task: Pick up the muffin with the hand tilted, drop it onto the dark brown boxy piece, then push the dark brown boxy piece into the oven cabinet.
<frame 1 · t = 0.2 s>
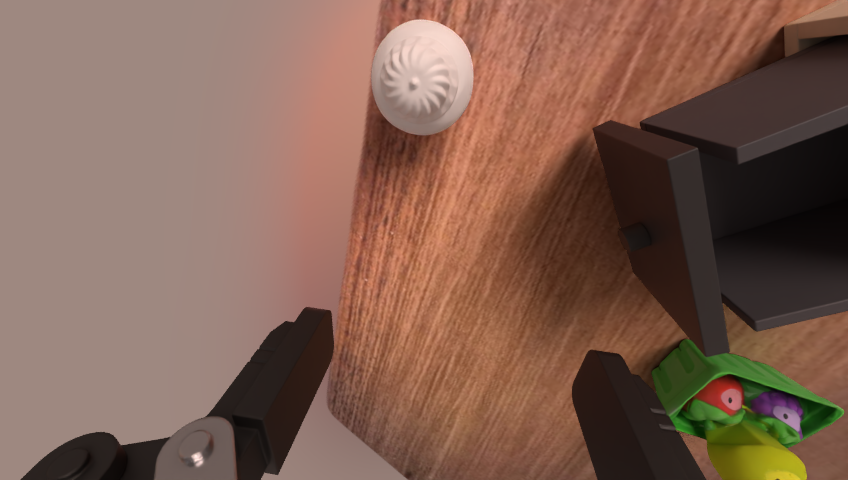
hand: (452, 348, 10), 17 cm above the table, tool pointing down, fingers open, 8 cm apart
muffin: (428, 80, 22), on the table
fruit basket: (702, 370, 31), on the table
dark brown boxy piece: (775, 189, 18), point 5 cm above the table, slide at 10.0 cm
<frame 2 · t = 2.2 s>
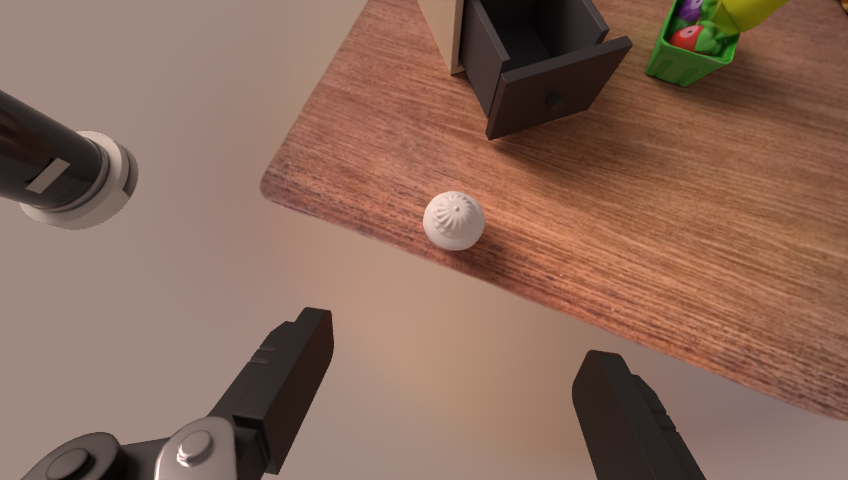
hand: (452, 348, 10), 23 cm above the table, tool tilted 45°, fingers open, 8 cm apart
muffin: (451, 231, 35), on the table
fruit basket: (676, 58, 41), on the table
dark brown boxy piece: (526, 50, 35), point 5 cm above the table, slide at 10.0 cm
oven cabinet: (477, 16, 43), on the table
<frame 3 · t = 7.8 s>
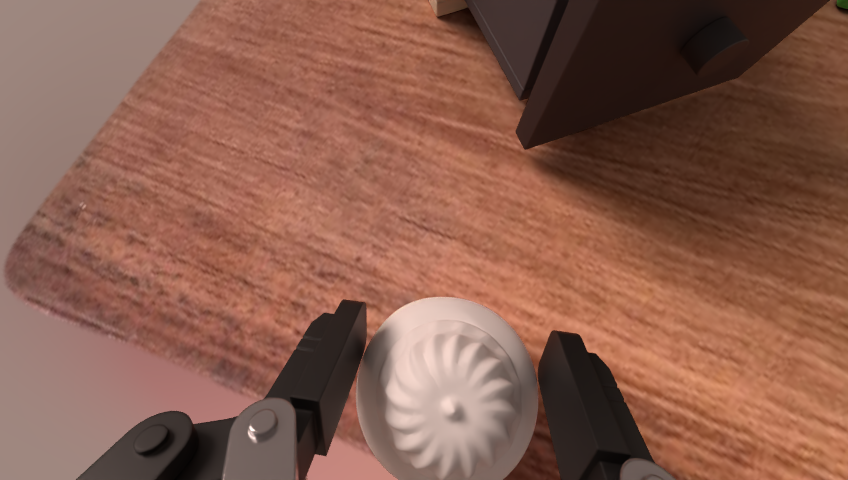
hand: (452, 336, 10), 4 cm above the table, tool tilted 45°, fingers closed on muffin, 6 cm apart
muffin: (442, 374, 14), on the table, touching gripper
when the fingers open (10 cm above the table, at t = 15.8 s): muffin drops 3 cm, resting on dark brown boxy piece.
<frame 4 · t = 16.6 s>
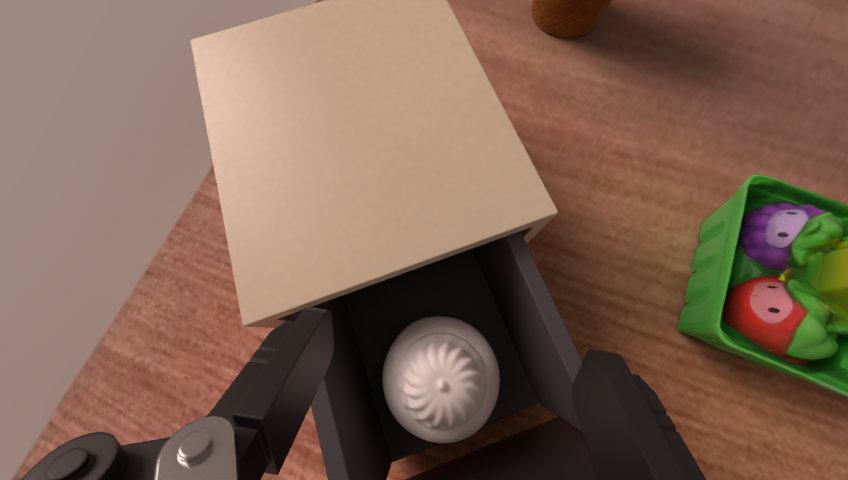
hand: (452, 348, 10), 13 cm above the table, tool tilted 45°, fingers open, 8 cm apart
disposable coffee cup: (563, 15, 31), on the table
muffin: (439, 368, 20), point 2 cm above the table, touching dark brown boxy piece
fruit basket: (731, 291, 23), on the table
dark brown boxy piece: (443, 369, 17), point 5 cm above the table, slide at 10.2 cm, touching muffin
oven cabinet: (386, 204, 25), on the table
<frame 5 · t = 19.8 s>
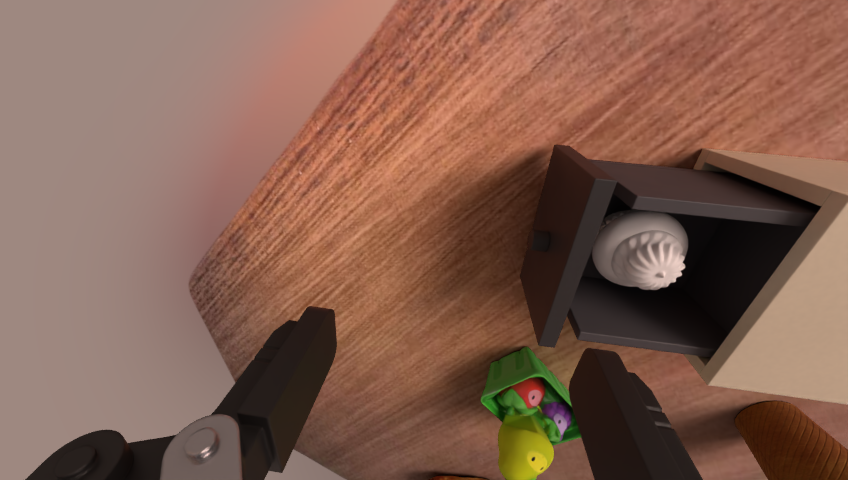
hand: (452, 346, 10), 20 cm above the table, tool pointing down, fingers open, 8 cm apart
disposable coffee cup: (764, 416, 37), on the table
muffin: (616, 227, 26), point 2 cm above the table, touching dark brown boxy piece
fruit basket: (524, 376, 39), on the table
dark brown boxy piece: (638, 251, 23), point 5 cm above the table, slide at 10.2 cm, touching muffin
oven cabinet: (759, 237, 27), on the table
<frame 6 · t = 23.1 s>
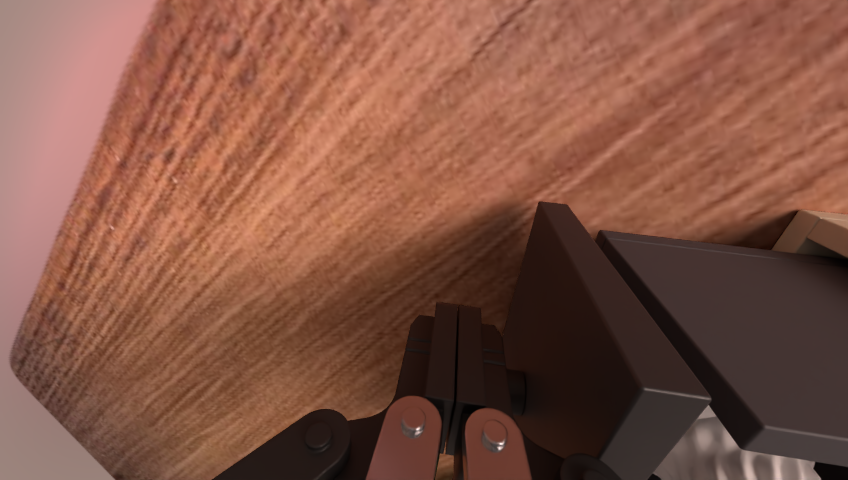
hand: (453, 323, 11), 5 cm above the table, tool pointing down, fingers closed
muffin: (650, 344, 15), point 2 cm above the table, touching dark brown boxy piece
dark brown boxy piece: (701, 420, 12), point 5 cm above the table, slide at 9.4 cm, touching gripper, muffin
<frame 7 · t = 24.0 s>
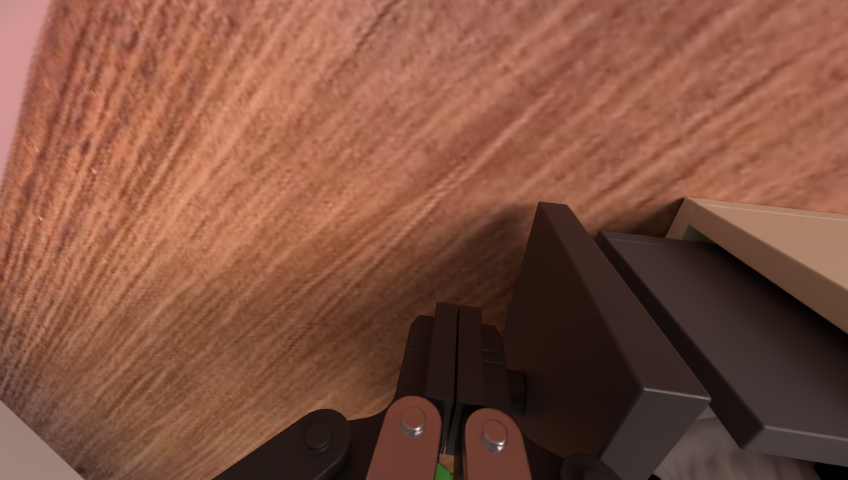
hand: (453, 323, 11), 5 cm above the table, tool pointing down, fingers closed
muffin: (650, 344, 15), point 2 cm above the table, touching dark brown boxy piece
dark brown boxy piece: (701, 421, 12), point 5 cm above the table, slide at 4.9 cm, touching gripper, muffin
oven cabinet: (783, 341, 16), on the table
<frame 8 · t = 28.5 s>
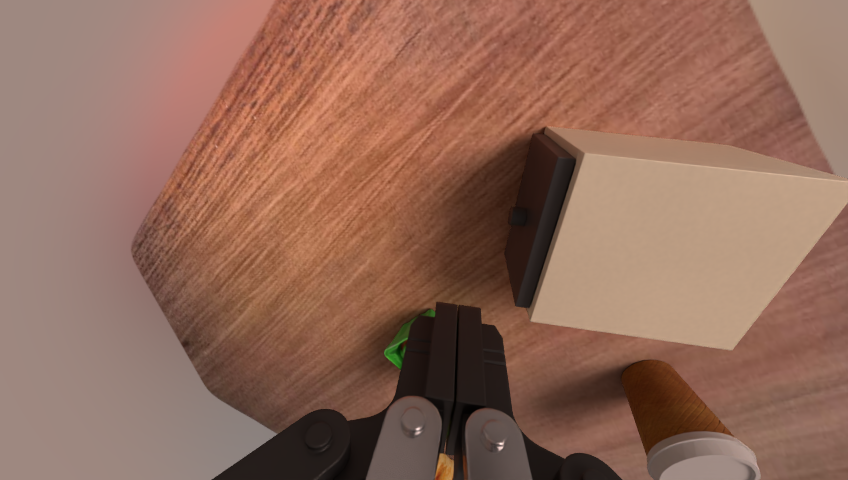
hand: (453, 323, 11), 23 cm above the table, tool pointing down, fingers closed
disposable coffee cup: (646, 375, 42), on the table
fruit basket: (434, 338, 43), on the table
dark brown boxy piece: (603, 226, 27), point 5 cm above the table, slide at 0.0 cm, touching muffin
croissant: (413, 451, 57), on the table
oven cabinet: (607, 206, 32), on the table
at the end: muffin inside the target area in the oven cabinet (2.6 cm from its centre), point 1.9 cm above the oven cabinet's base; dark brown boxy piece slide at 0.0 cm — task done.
